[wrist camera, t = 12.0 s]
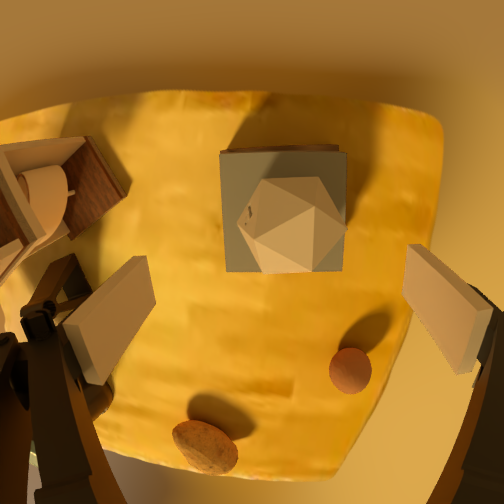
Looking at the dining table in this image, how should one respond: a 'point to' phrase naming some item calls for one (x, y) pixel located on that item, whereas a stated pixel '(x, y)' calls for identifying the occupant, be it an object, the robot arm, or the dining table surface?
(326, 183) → the block
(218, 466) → the potato
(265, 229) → the die
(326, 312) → the dining table surface
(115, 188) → the display case
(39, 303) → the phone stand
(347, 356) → the egg
